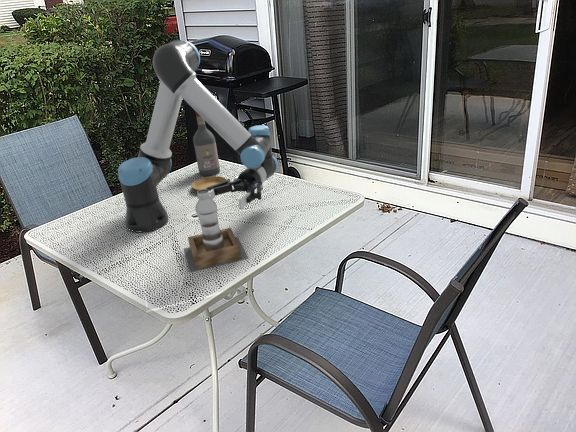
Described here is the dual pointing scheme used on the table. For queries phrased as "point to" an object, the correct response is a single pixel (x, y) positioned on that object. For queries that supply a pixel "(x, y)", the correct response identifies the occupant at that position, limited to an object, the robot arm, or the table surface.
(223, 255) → the wooden tray
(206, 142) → the liquor
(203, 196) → the plastic bottle
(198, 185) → the plant saucer
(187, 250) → the mat
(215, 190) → the robot arm
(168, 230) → the table surface
